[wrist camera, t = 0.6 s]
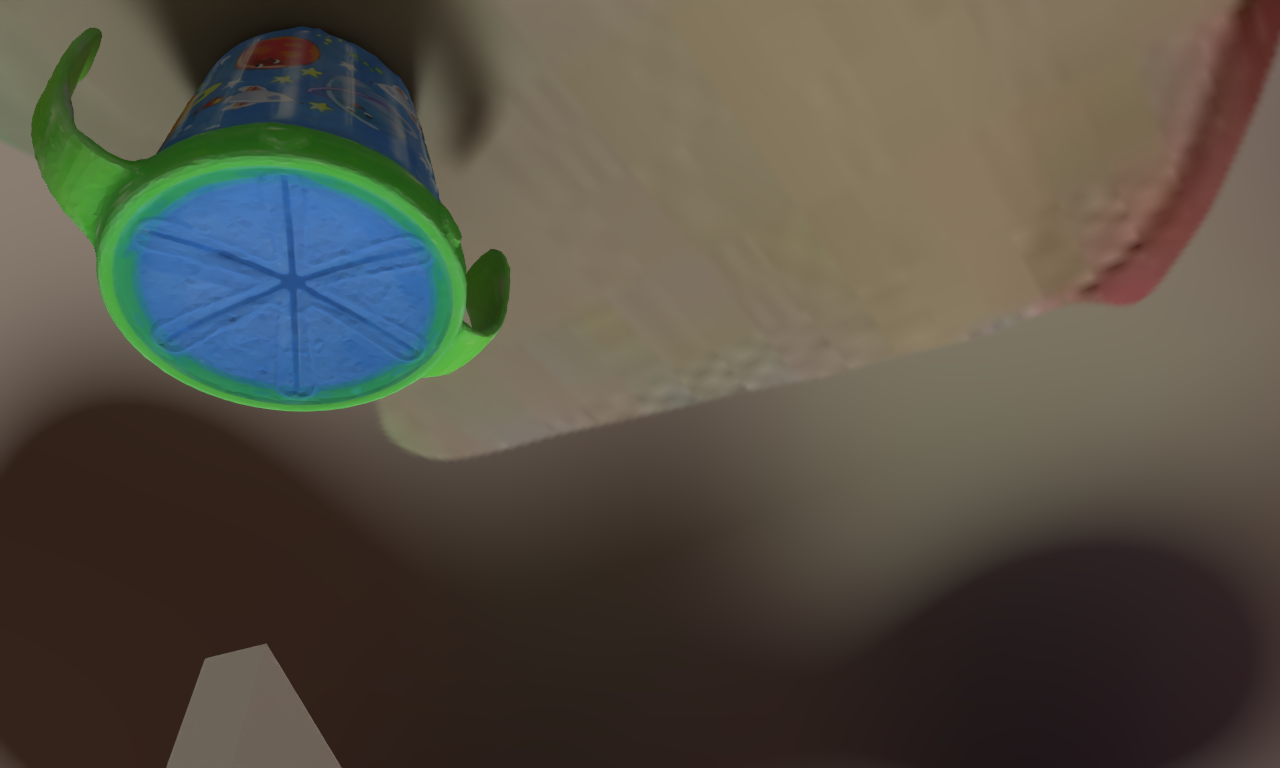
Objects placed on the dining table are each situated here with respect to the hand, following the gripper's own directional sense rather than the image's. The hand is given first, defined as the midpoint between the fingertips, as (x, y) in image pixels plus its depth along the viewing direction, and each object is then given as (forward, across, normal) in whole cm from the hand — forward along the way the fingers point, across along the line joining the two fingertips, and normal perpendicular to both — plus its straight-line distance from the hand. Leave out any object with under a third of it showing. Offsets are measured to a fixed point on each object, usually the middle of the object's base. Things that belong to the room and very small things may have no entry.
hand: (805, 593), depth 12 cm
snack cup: (+28, -11, +1) cm, 30 cm away
